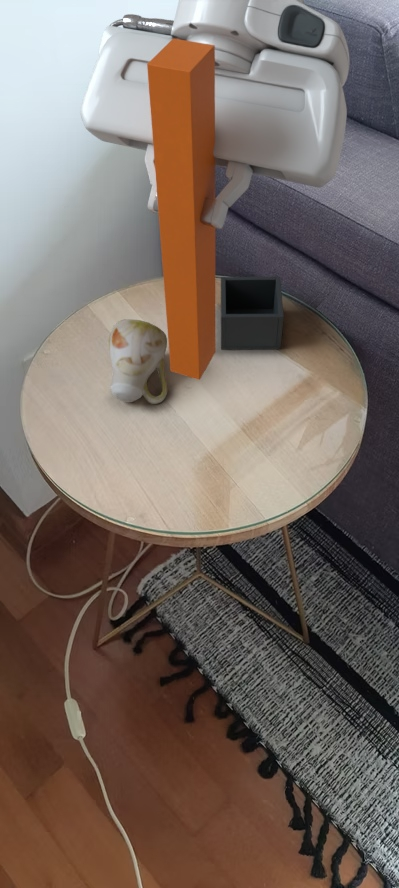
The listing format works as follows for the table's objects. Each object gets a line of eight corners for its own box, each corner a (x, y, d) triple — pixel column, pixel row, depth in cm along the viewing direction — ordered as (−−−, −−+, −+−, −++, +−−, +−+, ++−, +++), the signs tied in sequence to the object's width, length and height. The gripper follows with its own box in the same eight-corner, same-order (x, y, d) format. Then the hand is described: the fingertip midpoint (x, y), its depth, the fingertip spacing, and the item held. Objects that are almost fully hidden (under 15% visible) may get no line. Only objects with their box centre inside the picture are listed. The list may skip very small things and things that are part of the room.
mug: (97, 411, 84) (82, 331, 80) (132, 385, 92) (120, 311, 88) (153, 412, 81) (140, 329, 77) (183, 385, 89) (173, 309, 85)
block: (215, 352, 67) (215, 44, 45) (199, 380, 65) (190, 71, 43) (187, 343, 68) (173, 38, 46) (170, 371, 66) (146, 63, 43)
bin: (277, 309, 94) (280, 276, 89) (280, 349, 89) (283, 316, 85) (220, 309, 94) (220, 276, 90) (220, 349, 89) (221, 317, 85)
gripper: (90, -11, 50) (48, 180, 53) (364, 30, 45) (303, 241, 48) (125, 30, 56) (85, 201, 59) (370, 71, 51) (315, 256, 54)
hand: (184, 219), depth 53 cm, fingers closed on block, 3 cm apart
